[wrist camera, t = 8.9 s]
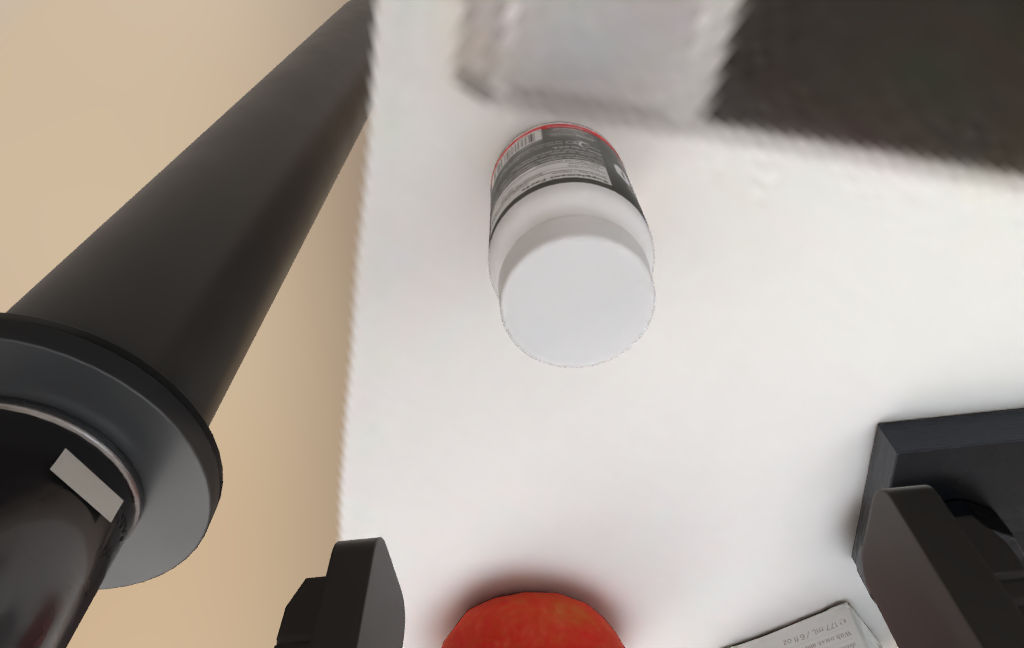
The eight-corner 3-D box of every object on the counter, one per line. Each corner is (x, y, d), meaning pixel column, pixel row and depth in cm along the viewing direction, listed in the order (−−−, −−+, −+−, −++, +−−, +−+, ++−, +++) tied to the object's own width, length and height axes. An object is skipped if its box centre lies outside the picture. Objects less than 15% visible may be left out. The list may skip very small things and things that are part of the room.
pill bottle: (622, 241, 26) (668, 377, 19) (495, 249, 27) (494, 387, 19) (625, 113, 24) (678, 217, 17) (485, 123, 24) (479, 230, 17)
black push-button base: (834, 567, 37) (863, 628, 34) (859, 425, 32) (897, 482, 29) (1089, 543, 36) (1142, 603, 33) (1160, 393, 31) (1229, 449, 28)
